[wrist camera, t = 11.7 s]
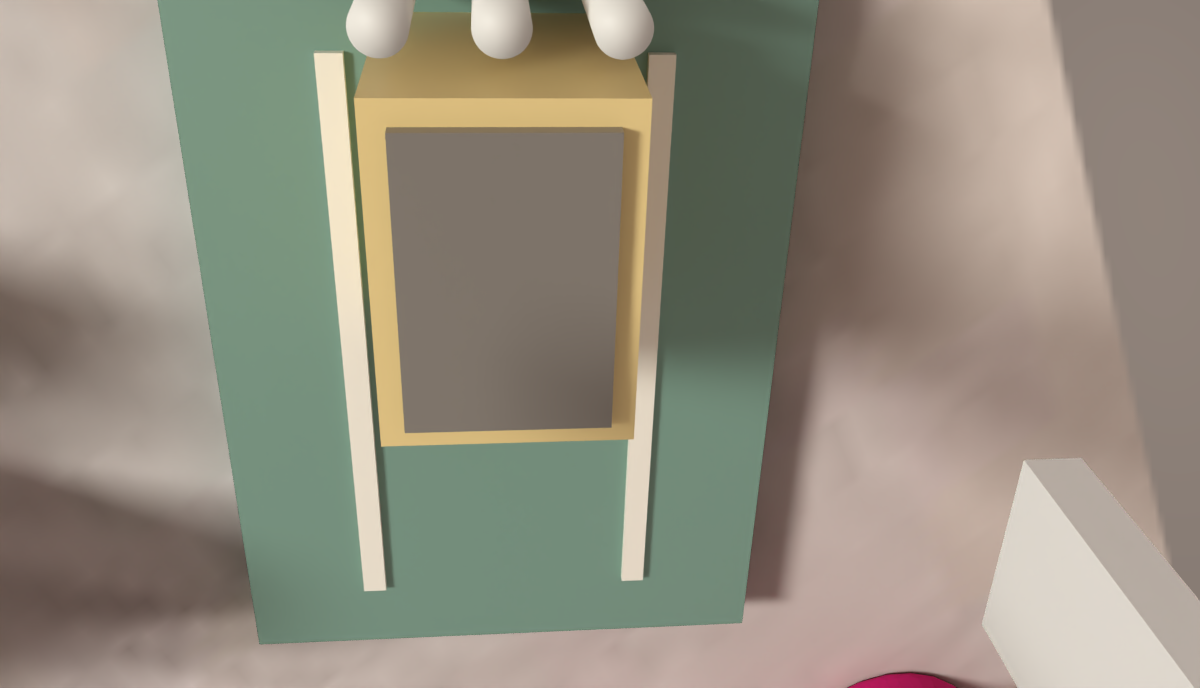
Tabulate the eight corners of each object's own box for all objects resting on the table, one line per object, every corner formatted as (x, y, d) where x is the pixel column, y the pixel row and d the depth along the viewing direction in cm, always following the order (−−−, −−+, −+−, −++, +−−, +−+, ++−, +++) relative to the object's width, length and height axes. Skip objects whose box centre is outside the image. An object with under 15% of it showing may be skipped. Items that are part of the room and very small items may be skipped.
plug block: (604, 301, 28) (635, 448, 22) (399, 305, 27) (380, 455, 22) (615, 13, 24) (655, 103, 19) (380, 11, 24) (352, 103, 19)
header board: (732, 588, 35) (790, 791, 28) (267, 607, 34) (218, 825, 27) (822, -200, 24) (951, -162, 18) (143, -218, 23) (11, -185, 16)
